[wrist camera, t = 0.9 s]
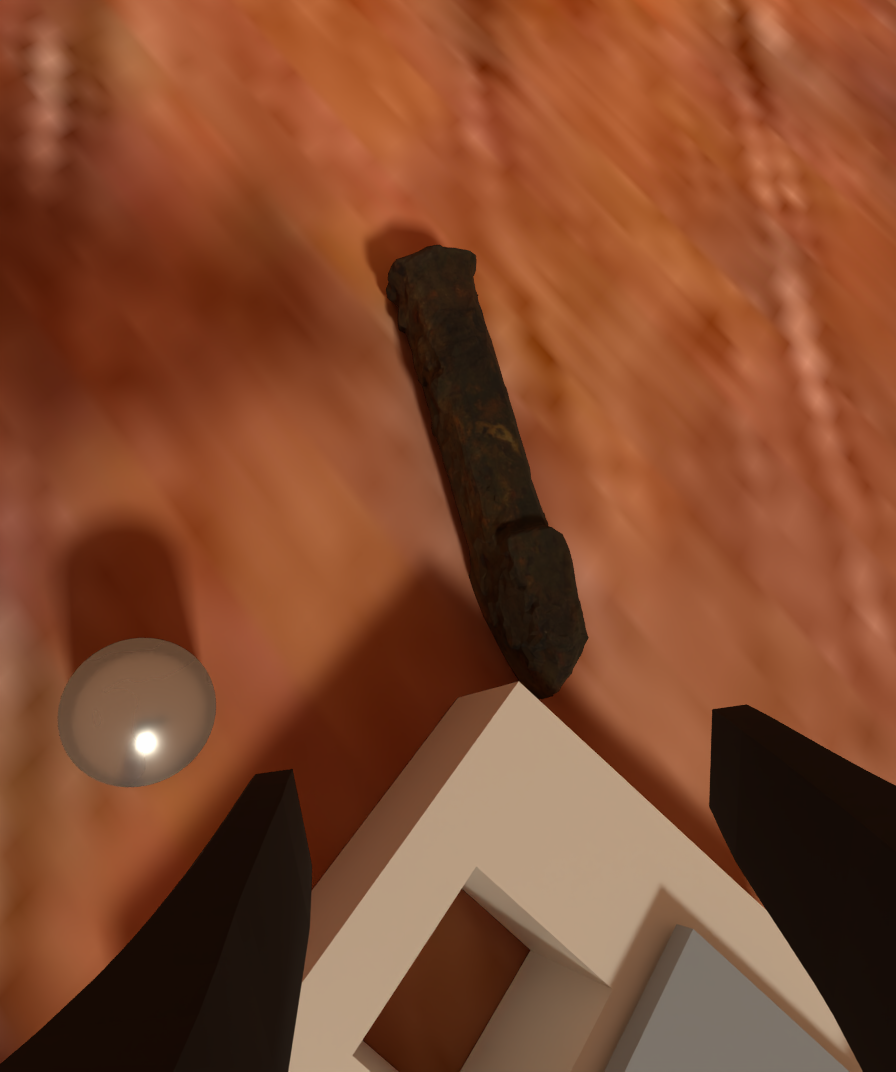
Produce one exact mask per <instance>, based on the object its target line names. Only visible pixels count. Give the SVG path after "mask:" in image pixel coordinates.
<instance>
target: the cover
mask: <svg viewBox="0 0 896 1072" xmlns="http://www.w3.org/2000/svg"><path fill="white" fill-rule="evenodd" d="M604 1072H849V1071H848V1070H847V1069H846V1068H845V1067H844V1066H843V1065H842V1064H840V1063H839V1062H838V1061H837V1060H836V1059H835V1058H834V1057H833V1056H832V1055H831V1054H829V1053H828V1052H827V1051H826V1050H825V1049H824V1048H823V1047H822V1046H821V1045H820V1044H819V1043H817V1042H816V1041H815V1040H814V1039H813V1038H812V1037H811V1036H810V1035H809V1034H808V1033H807V1032H805V1031H804V1030H803V1029H802V1028H801V1027H800V1026H799V1025H798V1024H797V1023H796V1022H795V1021H793V1020H792V1019H791V1018H790V1017H789V1016H788V1015H787V1014H786V1013H785V1012H784V1011H782V1010H781V1009H780V1008H779V1007H778V1006H777V1005H776V1004H775V1003H774V1002H773V1001H772V1000H770V999H769V998H768V997H767V996H766V995H765V994H764V993H763V992H762V991H761V990H760V989H758V988H757V987H756V986H755V985H754V984H753V983H752V982H751V981H750V980H749V979H748V978H746V977H745V976H744V975H743V974H742V973H741V972H740V971H739V970H738V969H737V968H736V967H734V966H733V965H732V964H731V963H730V962H729V961H728V960H727V959H726V958H725V957H723V956H722V955H721V954H720V953H719V952H718V951H717V950H716V949H715V948H714V947H713V946H711V945H710V944H709V943H708V942H707V941H706V940H705V939H704V938H703V937H702V936H701V935H699V934H698V933H697V932H696V931H695V930H694V929H692V928H689V927H685V926H682V925H678V924H676V926H675V928H674V930H673V932H672V935H671V937H670V939H669V941H668V943H667V945H666V947H665V949H664V951H663V953H662V955H661V957H660V959H659V961H658V963H657V965H656V967H655V969H654V971H653V973H652V975H651V977H650V979H649V981H648V983H647V985H646V987H645V989H644V991H643V993H642V995H641V997H640V999H639V1001H638V1004H637V1006H636V1008H635V1010H634V1012H633V1014H632V1016H631V1018H630V1020H629V1022H628V1024H627V1026H626V1028H625V1030H624V1032H623V1034H622V1036H621V1038H620V1040H619V1042H618V1044H617V1046H616V1048H615V1050H614V1052H613V1054H612V1056H611V1058H610V1060H609V1062H608V1064H607V1066H606V1068H605V1070H604Z"/></svg>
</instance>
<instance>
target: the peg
mask: <svg viewBox="0 0 896 1072" xmlns="http://www.w3.org/2000/svg"><path fill="white" fill-rule="evenodd" d="M215 714H216V698H215V692H214V687H213V684H212V681H211V679H210V677H209V675H208V673H207V671H206V669H205V668H204V667H203V665H202V664H201V663H200V661H199V660H198V659H197V658H196V657H195V656H194V655H192V654H191V653H190V652H188V651H187V650H186V649H184V648H182V647H180V646H179V645H176V644H174V643H171V642H169V641H165V640H161V639H155V638H134V639H128V640H123V641H119V642H117V643H114V644H111V645H109V646H107V647H105V648H103V649H101V650H99V651H98V652H96V653H94V654H93V655H92V656H90V657H89V658H88V659H87V660H85V661H84V662H83V663H82V664H81V665H80V666H79V668H78V669H77V670H76V671H75V672H74V674H73V675H72V676H71V678H70V680H69V681H68V683H67V685H66V687H65V689H64V691H63V694H62V696H61V700H60V704H59V710H58V729H59V735H60V738H61V741H62V745H63V747H64V749H65V751H66V753H67V755H68V756H69V757H70V759H71V760H72V761H73V763H74V764H75V765H76V766H77V767H78V768H79V769H80V770H82V771H83V772H84V773H86V774H87V775H88V776H90V777H92V778H94V779H96V780H97V781H100V782H103V783H106V784H109V785H114V786H120V787H140V786H146V785H150V784H154V783H157V782H160V781H162V780H165V779H167V778H169V777H171V776H173V775H174V774H176V773H178V772H179V771H180V770H182V769H183V768H184V767H186V766H187V765H188V764H189V763H190V762H191V761H192V760H193V759H194V758H195V757H196V756H197V755H198V753H199V752H200V751H201V750H202V748H203V746H204V745H205V743H206V742H207V739H208V737H209V735H210V733H211V730H212V727H213V724H214V719H215Z"/></svg>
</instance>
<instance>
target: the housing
mask: <svg viewBox="0 0 896 1072" xmlns="http://www.w3.org/2000/svg"><path fill="white" fill-rule="evenodd" d="M461 889H463V890H464V891H465V892H466V893H467V894H469V895H470V896H471V897H472V898H473V899H474V900H475V901H476V902H477V903H479V904H480V905H481V906H482V907H483V908H484V909H485V910H486V911H487V912H489V913H490V914H491V915H492V916H493V917H494V918H495V919H496V920H498V921H499V922H500V923H501V924H502V925H503V926H504V927H505V928H506V929H508V930H509V931H510V932H511V933H512V934H513V935H514V936H515V937H516V938H518V939H519V940H520V941H521V942H522V943H523V944H524V945H525V946H527V947H528V948H529V949H530V952H529V954H528V955H527V957H526V959H525V960H524V962H523V964H522V966H521V967H520V969H519V971H518V973H517V974H516V976H515V978H514V979H513V981H512V983H511V985H510V986H509V988H508V990H507V991H506V993H505V995H504V997H503V998H502V1000H501V1002H500V1003H499V1005H498V1007H497V1009H496V1010H495V1012H494V1014H493V1015H492V1017H491V1019H490V1021H489V1022H488V1024H487V1026H486V1028H485V1029H484V1031H483V1033H482V1034H481V1036H480V1038H479V1040H478V1041H477V1043H476V1045H475V1046H474V1048H473V1050H472V1052H471V1053H470V1055H469V1057H468V1058H467V1060H466V1062H465V1064H464V1065H463V1067H462V1069H461V1070H460V1072H604V1070H605V1068H606V1066H607V1064H608V1062H609V1060H610V1058H611V1056H612V1054H613V1052H614V1050H615V1048H616V1046H617V1044H618V1042H619V1040H620V1038H621V1036H622V1034H623V1032H624V1030H625V1028H626V1026H627V1024H628V1022H629V1020H630V1018H631V1016H632V1014H633V1012H634V1010H635V1008H636V1006H637V1004H638V1001H639V999H640V997H641V995H642V993H643V991H644V989H645V987H646V985H647V983H648V981H649V979H650V977H651V975H652V973H653V971H654V969H655V967H656V965H657V963H658V961H659V959H660V957H661V955H662V953H663V951H664V949H665V947H666V945H667V943H668V941H669V939H670V937H671V935H672V932H673V930H674V928H675V926H676V924H678V925H682V926H685V927H689V928H692V929H694V930H695V931H696V932H697V933H698V934H699V935H701V936H702V937H703V938H704V939H705V940H706V941H707V942H708V943H709V944H710V945H711V946H713V947H714V948H715V949H716V950H717V951H718V952H719V953H720V954H721V955H722V956H723V957H725V958H726V959H727V960H728V961H729V962H730V963H731V964H732V965H733V966H734V967H736V968H737V969H738V970H739V971H740V972H741V973H742V974H743V975H744V976H745V977H746V978H748V979H749V980H750V981H751V982H752V983H753V984H754V985H755V986H756V987H757V988H758V989H760V990H761V991H762V992H763V993H764V994H765V995H766V996H767V997H768V998H769V999H770V1000H772V1001H773V1002H774V1003H775V1004H776V1005H777V1006H778V1007H779V1008H780V1009H781V1010H782V1011H784V1012H785V1013H786V1014H787V1015H788V1016H789V1017H790V1018H791V1019H792V1020H793V1021H795V1022H796V1023H797V1024H798V1025H799V1026H800V1027H801V1028H802V1029H803V1030H804V1031H805V1032H807V1033H808V1034H809V1035H810V1036H811V1037H812V1038H813V1039H814V1040H815V1041H816V1042H817V1043H819V1044H820V1045H821V1046H822V1047H823V1048H824V1049H825V1050H826V1051H827V1052H828V1053H829V1054H831V1055H832V1056H833V1057H834V1058H835V1059H836V1060H837V1061H838V1062H839V1063H840V1064H842V1065H843V1066H844V1067H845V1068H846V1069H847V1070H848V1071H849V1072H863V1071H862V1069H861V1067H860V1065H859V1063H858V1062H857V1060H856V1058H855V1056H854V1054H853V1052H852V1050H851V1048H850V1046H849V1044H848V1043H847V1041H846V1039H845V1037H844V1035H843V1033H842V1031H841V1029H840V1027H839V1025H838V1024H837V1022H836V1020H835V1018H834V1016H833V1014H832V1012H831V1011H830V1009H829V1007H828V1006H827V1004H826V1002H825V1001H824V999H823V997H822V996H821V994H820V992H819V991H818V989H817V987H816V986H815V984H814V982H813V981H812V979H811V978H810V976H809V975H808V973H807V972H806V970H805V969H804V967H803V965H802V964H801V962H800V961H799V959H798V958H797V956H796V955H795V953H794V952H793V950H792V949H791V947H790V945H789V944H788V942H787V941H786V939H785V938H784V936H783V935H782V933H781V932H780V930H779V928H778V927H777V925H776V924H775V922H774V921H773V919H772V918H771V916H770V915H769V913H768V912H767V910H765V909H764V908H763V907H762V906H761V905H760V904H759V903H758V902H757V901H756V900H755V899H754V898H752V897H751V896H750V895H749V894H748V893H747V892H746V891H745V890H744V889H743V888H742V887H741V886H739V885H738V884H737V883H736V882H735V881H734V880H733V879H732V878H731V877H730V876H729V875H728V874H726V873H725V872H724V871H723V870H722V869H721V868H720V867H719V866H718V865H717V864H716V863H715V862H714V861H712V860H711V859H710V858H709V857H708V856H707V855H706V854H705V853H704V852H703V851H702V850H701V849H699V848H698V847H697V846H696V845H695V844H694V843H693V842H692V841H691V840H690V839H689V838H688V837H686V836H685V835H684V834H683V833H682V832H681V831H680V830H679V829H678V828H677V827H676V826H675V825H674V824H672V823H671V822H670V821H669V820H668V819H667V818H666V817H665V816H664V815H663V814H662V813H661V812H659V811H658V810H657V809H656V808H655V807H654V806H653V805H652V804H651V803H650V802H649V801H648V800H646V799H645V798H644V797H643V796H642V795H641V794H640V793H639V792H638V791H637V790H636V789H635V788H633V787H632V786H631V785H630V784H629V783H628V782H627V781H626V780H625V779H624V778H623V777H622V776H621V775H619V774H618V773H617V772H616V771H615V770H614V769H613V768H612V767H611V766H610V765H609V764H608V763H606V762H605V761H604V760H603V759H602V758H601V757H600V756H599V755H598V754H597V753H596V752H595V751H593V750H592V749H591V748H590V747H589V746H588V745H587V744H586V743H585V742H584V741H583V740H582V739H581V738H579V737H578V736H577V735H576V734H575V733H574V732H573V731H572V730H571V729H570V728H569V727H568V726H566V725H565V724H564V723H563V722H562V721H561V720H560V719H559V718H558V717H557V716H556V715H555V714H553V713H552V712H551V711H550V710H549V709H548V708H547V707H546V706H545V705H544V704H543V703H542V702H540V701H539V700H538V699H537V698H536V697H535V696H534V695H533V694H532V693H531V692H530V691H529V690H528V689H526V688H525V687H524V686H523V685H522V684H521V683H520V682H519V681H518V682H515V683H511V684H507V685H503V686H500V687H496V688H492V689H488V690H485V691H481V692H477V693H474V694H470V695H466V696H462V697H459V698H457V700H456V701H455V702H454V704H453V705H452V706H451V708H450V709H449V710H448V712H447V713H446V714H445V715H444V717H443V718H442V719H441V721H440V722H439V723H438V725H437V726H436V727H435V729H434V730H433V731H432V733H431V734H430V735H429V737H428V738H427V739H426V741H425V742H424V743H423V744H422V746H421V747H420V748H419V750H418V751H417V752H416V754H415V755H414V756H413V758H412V759H411V760H410V762H409V763H408V764H407V766H406V767H405V768H404V770H403V771H402V772H401V774H400V775H399V776H398V777H397V779H396V780H395V781H394V783H393V784H392V785H391V787H390V788H389V789H388V791H387V792H386V793H385V795H384V796H383V797H382V799H381V800H380V801H379V803H378V804H377V805H376V807H375V808H374V809H373V810H372V812H371V813H370V814H369V816H368V817H367V818H366V820H365V821H364V822H363V824H362V825H361V826H360V828H359V829H358V830H357V832H356V833H355V834H354V836H353V837H352V838H351V839H350V841H349V842H348V843H347V845H346V846H345V847H344V849H343V850H342V851H341V853H340V854H339V855H338V857H337V858H336V859H335V861H334V862H333V863H332V865H331V866H330V867H329V869H328V870H327V871H326V872H325V874H324V875H323V876H322V878H321V879H320V880H319V882H318V883H317V884H316V886H315V887H314V888H313V890H312V891H311V916H310V931H309V938H308V945H307V952H306V958H305V965H304V972H303V979H302V985H301V992H300V998H299V1005H298V1011H297V1018H296V1025H295V1031H294V1038H293V1044H292V1051H291V1057H290V1064H289V1070H288V1072H398V1071H397V1070H396V1069H395V1068H394V1067H393V1066H392V1065H390V1064H389V1063H388V1062H387V1061H386V1060H385V1059H383V1058H382V1057H381V1056H380V1055H379V1054H378V1053H377V1052H375V1051H374V1050H373V1049H372V1048H371V1047H370V1046H369V1045H367V1044H366V1043H365V1042H364V1041H363V1038H364V1037H365V1035H366V1034H367V1032H368V1031H369V1029H370V1028H371V1026H372V1025H373V1023H374V1022H375V1020H376V1019H377V1017H378V1016H379V1014H380V1013H381V1011H382V1009H383V1008H384V1006H385V1005H386V1003H387V1002H388V1000H389V999H390V997H391V996H392V994H393V993H394V991H395V990H396V988H397V987H398V985H399V983H400V982H401V980H402V979H403V977H404V976H405V974H406V973H407V971H408V970H409V968H410V967H411V965H412V964H413V962H414V961H415V959H416V958H417V956H418V954H419V953H420V951H421V950H422V948H423V947H424V945H425V944H426V942H427V941H428V939H429V938H430V936H431V935H432V933H433V932H434V930H435V929H436V927H437V925H438V924H439V922H440V921H441V919H442V918H443V916H444V915H445V913H446V912H447V910H448V909H449V907H450V906H451V904H452V903H453V901H454V899H455V898H456V896H457V895H458V893H459V892H460V890H461Z"/></svg>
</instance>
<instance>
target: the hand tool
mask: <svg viewBox="0 0 896 1072" xmlns="http://www.w3.org/2000/svg"><path fill="white" fill-rule="evenodd" d="M475 271H476V255H475V254H473V253H472V252H471V251H468V250H463V249H457V248H447V247H442V246H441V245H433V246H429V247H426V248H424V249H422V250H420V251H419V252H416V253H414V254H411V255H408V256H406V257H403V258H399V259H396V261H395V262H394V263H393V264H392V266H391V268H390V271H389V273H388V281H389V283H388V285H387V288H386V293H387V298H388V299H389V300H391V301H392V302H393V303H394V304H395V305H397V306H398V307H399V311H398V326H399V330H400V331H402V332H404V333H406V334H407V337H408V341H409V344H410V347H411V350H412V353H413V361H414V367H415V370H416V372H417V375H418V380H419V382H420V383H421V384H422V386H423V389H424V393H425V396H426V400H427V404H428V407H429V410H430V414H431V419H432V432H433V435H434V436H435V437H436V438H437V441H438V444H439V447H440V451H441V454H442V457H443V461H444V466H445V469H446V471H447V473H448V477H449V480H450V484H451V487H452V491H453V494H454V498H455V502H456V505H457V508H458V511H459V515H460V519H461V523H462V526H463V530H464V534H465V537H466V541H467V544H468V547H469V552H470V562H471V571H470V574H469V578H470V581H471V584H472V587H473V590H474V593H475V596H476V599H477V601H478V603H479V606H480V608H481V611H482V613H483V616H484V618H485V620H486V621H487V623H488V625H489V627H490V629H491V631H492V633H493V635H494V637H495V639H496V641H497V643H498V645H499V647H500V649H501V651H502V653H503V654H504V656H505V658H506V660H507V661H508V663H509V665H510V667H511V668H512V670H513V671H514V673H515V675H516V676H517V678H518V679H519V681H520V682H521V684H522V685H523V686H524V687H525V688H526V689H528V690H529V691H530V692H531V693H532V694H533V695H534V696H535V697H536V698H537V699H544V698H547V697H550V696H553V695H554V694H555V693H557V692H558V691H559V690H560V688H561V686H562V684H563V683H564V682H565V680H566V679H567V678H568V677H569V676H570V675H571V674H572V671H573V668H574V666H575V664H576V663H577V661H578V659H579V657H580V656H581V654H582V652H583V648H584V645H585V643H586V642H587V640H588V635H587V632H586V628H585V622H584V618H583V612H582V609H581V604H580V601H579V598H578V593H577V587H576V581H575V574H574V568H573V562H572V558H571V554H570V551H569V548H568V545H567V543H566V541H565V539H564V537H563V534H561V533H560V532H558V531H556V530H555V529H553V528H552V527H549V526H548V522H547V520H546V518H545V514H544V513H543V511H542V508H541V505H540V503H539V500H538V497H537V494H536V491H535V488H534V485H533V483H532V480H531V473H530V467H529V464H528V460H527V457H526V454H525V450H524V447H523V444H522V440H521V437H520V434H519V431H518V427H517V423H516V419H515V416H514V413H513V410H512V406H511V403H510V400H509V396H508V392H507V389H506V387H505V385H504V382H503V378H502V374H501V371H500V367H499V364H498V361H497V358H496V354H495V351H494V347H493V344H492V341H491V338H490V335H489V333H488V330H487V327H486V324H485V321H484V317H483V313H482V310H481V307H480V305H479V302H478V297H477V296H478V295H477V292H476V290H475V284H474V278H473V276H474V274H475Z"/></svg>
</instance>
